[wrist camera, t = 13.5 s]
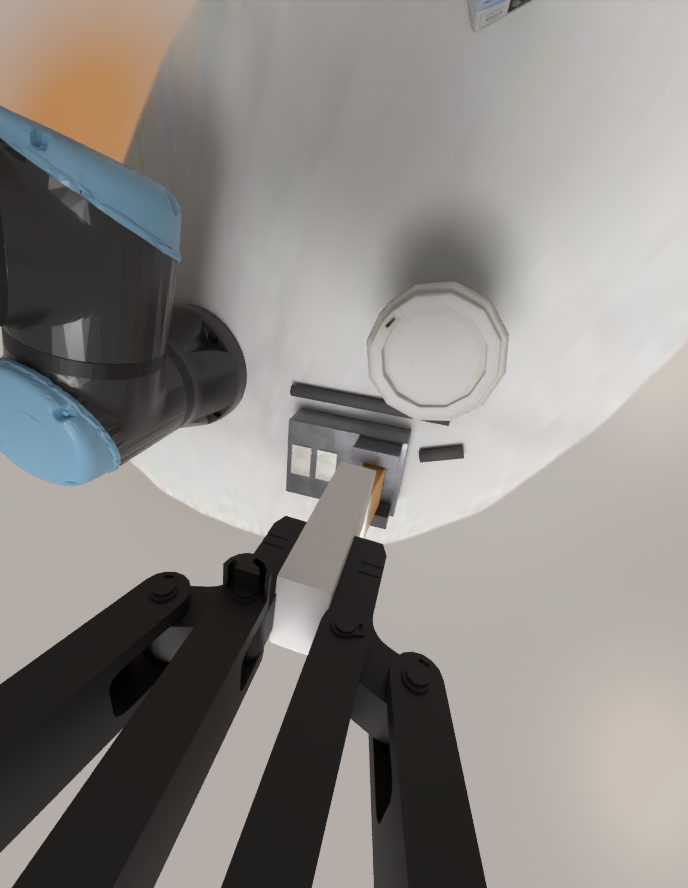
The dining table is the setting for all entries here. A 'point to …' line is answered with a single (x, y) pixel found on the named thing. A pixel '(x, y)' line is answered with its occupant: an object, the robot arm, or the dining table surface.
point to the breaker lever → (373, 496)
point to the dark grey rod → (350, 401)
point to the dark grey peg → (441, 454)
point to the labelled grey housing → (344, 455)
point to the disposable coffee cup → (437, 351)
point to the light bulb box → (491, 10)
